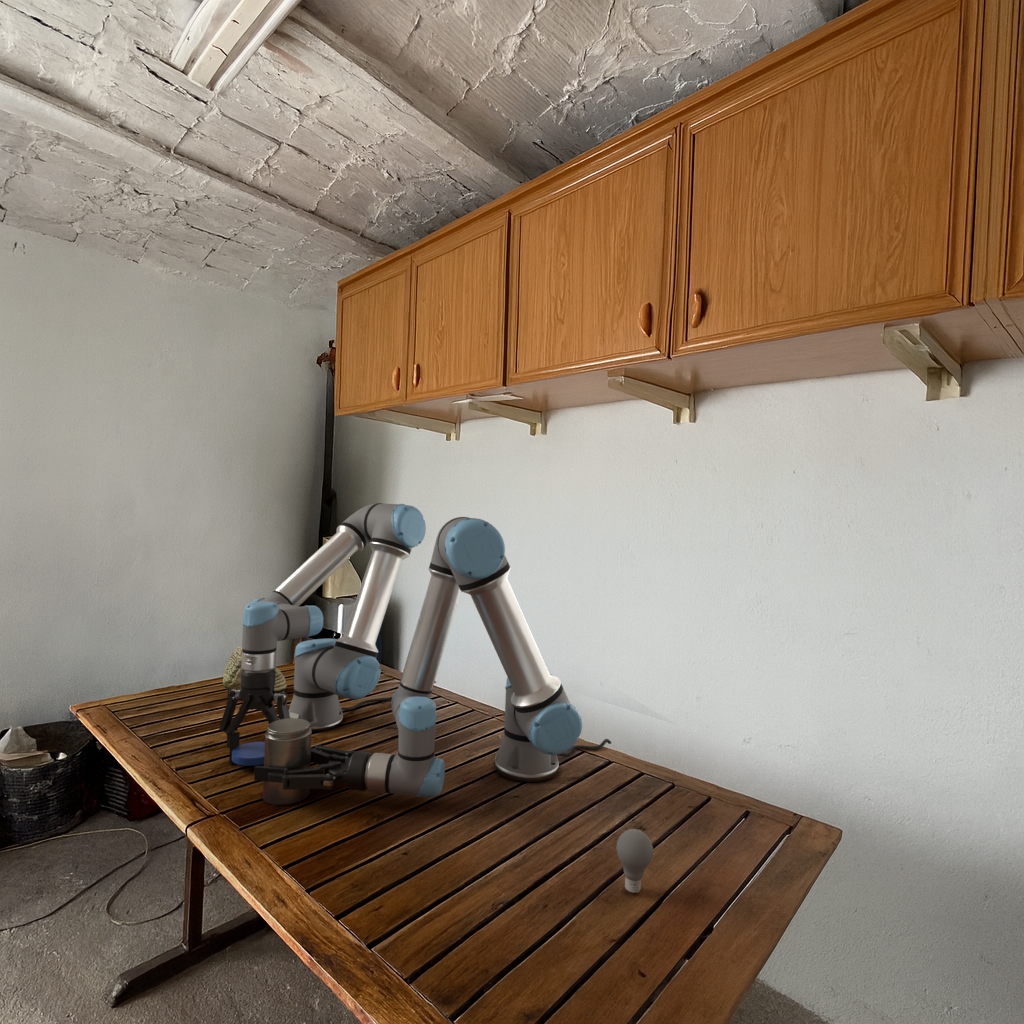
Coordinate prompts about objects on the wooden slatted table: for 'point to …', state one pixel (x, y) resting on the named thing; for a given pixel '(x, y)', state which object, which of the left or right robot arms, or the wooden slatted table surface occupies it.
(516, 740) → the right robot arm
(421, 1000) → the wooden slatted table surface
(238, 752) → the lid
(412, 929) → the wooden slatted table surface
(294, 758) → the jar
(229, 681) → the fossil
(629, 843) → the light bulb
